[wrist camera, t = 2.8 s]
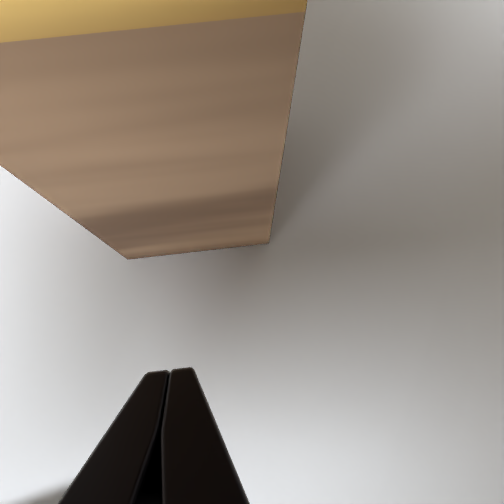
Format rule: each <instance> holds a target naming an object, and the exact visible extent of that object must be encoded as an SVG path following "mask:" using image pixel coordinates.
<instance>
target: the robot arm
mask: <svg viewBox="0 0 504 504" xmlns="http://www.w3.org/2000/svg"><path fill="white" fill-rule="evenodd" d="M58 504H250V503H249V501H248V498H247V496H246V494H245V491H244V489H243V486H242V484H241V481H240V479H239V477H238V474H237V472H236V469H235V467H234V465H233V462H232V460H231V457H230V455H229V453H228V450H227V448H226V445H225V443H224V440H223V438H222V436H221V433H220V431H219V428H218V426H217V424H216V421H215V419H214V416H213V414H212V412H211V409H210V407H209V404H208V402H207V399H206V397H205V395H204V392H203V390H202V387H201V385H200V383H199V380H198V378H197V375H196V373H195V371H194V369H193V368H191V367H188V368H179V369H173V370H172V371H171V372H169V371H167V370H163V371H154V372H148V373H147V374H145V375H144V377H143V378H142V379H141V381H140V382H139V384H138V385H137V387H136V388H135V390H134V391H133V393H132V394H131V396H130V397H129V399H128V400H127V402H126V403H125V405H124V406H123V408H122V409H121V411H120V412H119V414H118V415H117V417H116V418H115V420H114V421H113V423H112V424H111V426H110V427H109V428H108V430H107V431H106V433H105V434H104V436H103V437H102V439H101V440H100V442H99V443H98V445H97V446H96V448H95V449H94V451H93V452H92V454H91V455H90V457H89V458H88V460H87V461H86V463H85V464H84V466H83V467H82V469H81V470H80V472H79V473H78V475H77V476H76V477H75V479H74V480H73V482H72V483H71V485H70V486H69V488H68V489H67V491H66V492H65V494H64V495H63V497H62V498H61V500H60V501H59V503H58Z"/></svg>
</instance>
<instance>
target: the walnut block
mask: <svg viewBox="0 0 504 504" xmlns="http://www.w3.org/2000/svg"><path fill="white" fill-rule="evenodd" d="M306 6H307V0H0V165H1V166H2V167H3V168H5V169H6V170H7V171H9V172H10V173H11V174H13V175H14V176H15V177H17V178H18V179H20V180H21V181H22V182H24V183H25V184H26V185H28V186H29V187H30V188H32V189H33V190H34V191H36V192H37V193H38V194H40V195H41V196H42V197H44V198H45V199H47V200H48V201H49V202H51V203H52V204H53V205H55V206H56V207H57V208H59V209H60V210H61V211H63V212H64V213H65V214H67V215H68V216H70V217H71V218H72V219H74V220H75V221H76V222H78V223H79V224H80V225H82V226H83V227H84V228H86V229H87V230H88V231H90V232H91V233H93V234H94V235H95V236H97V237H98V238H99V239H101V240H102V241H103V242H105V243H106V244H107V245H109V246H110V247H111V248H113V249H114V250H115V251H117V252H118V253H120V254H121V255H122V256H124V257H125V258H126V259H136V258H144V257H153V256H162V255H170V254H179V253H188V252H197V251H205V250H214V249H223V248H232V247H240V246H249V245H258V244H266V243H269V239H270V233H271V227H272V220H273V214H274V208H275V201H276V195H277V189H278V183H279V176H280V170H281V164H282V157H283V151H284V145H285V138H286V132H287V126H288V119H289V113H290V107H291V100H292V94H293V88H294V81H295V75H296V69H297V63H298V56H299V50H300V44H301V37H302V31H303V25H304V18H305V12H306Z"/></svg>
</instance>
